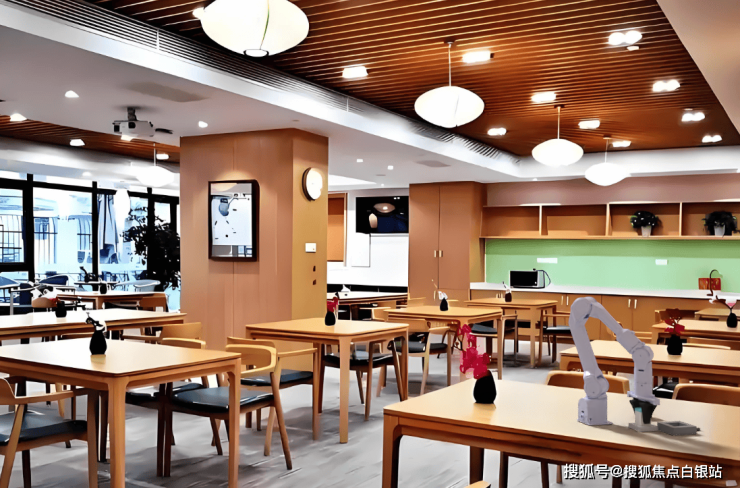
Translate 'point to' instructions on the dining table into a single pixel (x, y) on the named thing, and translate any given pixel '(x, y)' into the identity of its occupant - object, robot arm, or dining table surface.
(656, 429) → the tray
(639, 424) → the plug
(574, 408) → the dining table surface
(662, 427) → the panel
